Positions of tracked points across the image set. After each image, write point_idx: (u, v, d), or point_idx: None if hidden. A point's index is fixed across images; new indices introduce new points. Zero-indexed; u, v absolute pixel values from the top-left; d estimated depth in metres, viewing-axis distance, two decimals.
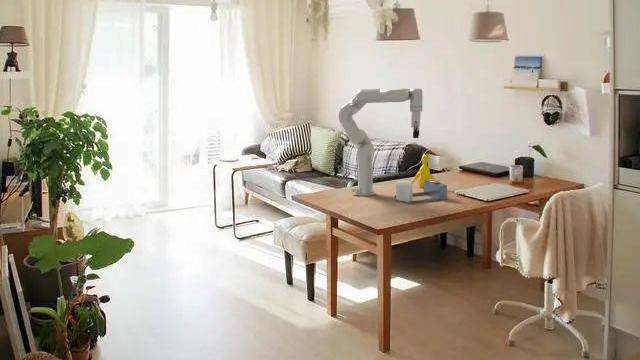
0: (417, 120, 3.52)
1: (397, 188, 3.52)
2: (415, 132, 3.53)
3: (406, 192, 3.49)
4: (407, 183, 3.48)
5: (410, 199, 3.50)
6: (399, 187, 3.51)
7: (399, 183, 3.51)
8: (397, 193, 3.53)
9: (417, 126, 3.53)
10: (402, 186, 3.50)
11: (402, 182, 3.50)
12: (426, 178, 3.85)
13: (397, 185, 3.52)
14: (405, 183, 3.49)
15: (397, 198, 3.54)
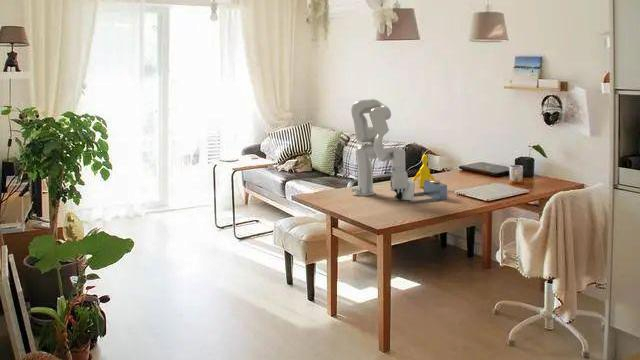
0: None
1: None
2: None
3: (408, 190, 3.51)
4: (410, 181, 3.51)
5: (411, 197, 3.50)
6: None
7: None
8: None
9: None
10: None
11: None
12: (426, 178, 3.85)
13: None
14: (408, 181, 3.52)
15: None
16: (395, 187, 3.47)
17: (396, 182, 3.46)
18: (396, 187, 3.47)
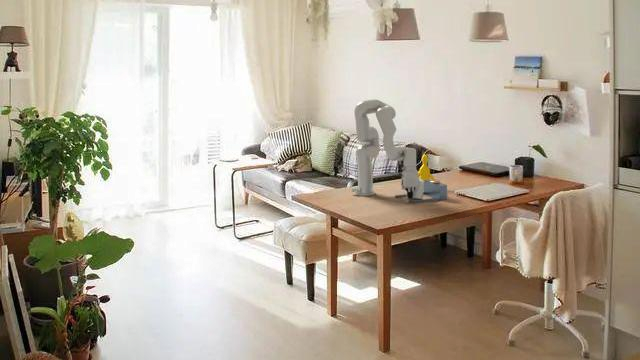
0: None
1: None
2: None
3: (418, 189, 3.54)
4: (419, 180, 3.54)
5: (421, 196, 3.54)
6: None
7: None
8: None
9: None
10: None
11: None
12: (426, 178, 3.85)
13: None
14: None
15: None
16: (406, 186, 3.49)
17: (407, 180, 3.48)
18: (407, 186, 3.49)
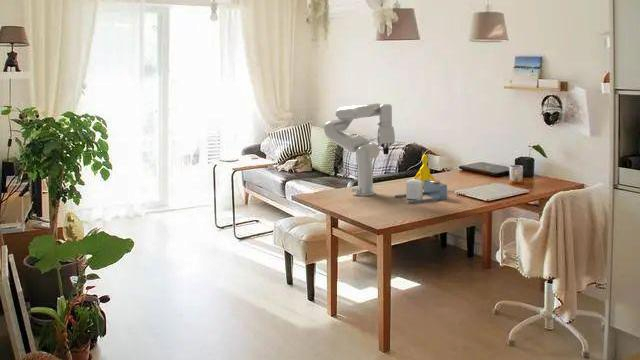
0: None
1: (407, 186, 3.55)
2: None
3: (417, 191, 3.53)
4: (418, 181, 3.52)
5: (421, 197, 3.53)
6: (409, 185, 3.54)
7: (409, 182, 3.54)
8: (407, 191, 3.56)
9: None
10: (413, 184, 3.53)
11: (413, 181, 3.53)
12: (426, 178, 3.85)
13: (407, 184, 3.55)
14: (416, 181, 3.52)
15: (407, 196, 3.57)
16: (382, 141, 3.54)
17: (382, 136, 3.53)
18: (383, 141, 3.54)
